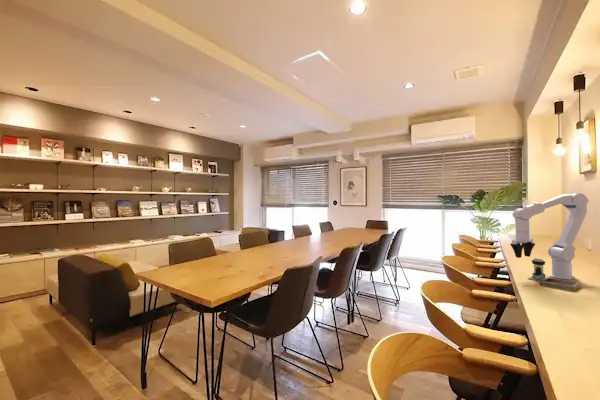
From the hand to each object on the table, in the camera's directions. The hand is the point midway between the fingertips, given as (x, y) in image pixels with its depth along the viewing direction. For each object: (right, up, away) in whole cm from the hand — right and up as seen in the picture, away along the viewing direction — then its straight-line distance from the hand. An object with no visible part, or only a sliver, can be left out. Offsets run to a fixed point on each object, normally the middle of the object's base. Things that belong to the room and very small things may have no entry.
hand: (522, 256), depth 149 cm
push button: (+4, -10, -6) cm, 13 cm away
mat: (+4, -10, -5) cm, 12 cm away
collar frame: (+4, -10, -17) cm, 20 cm away
